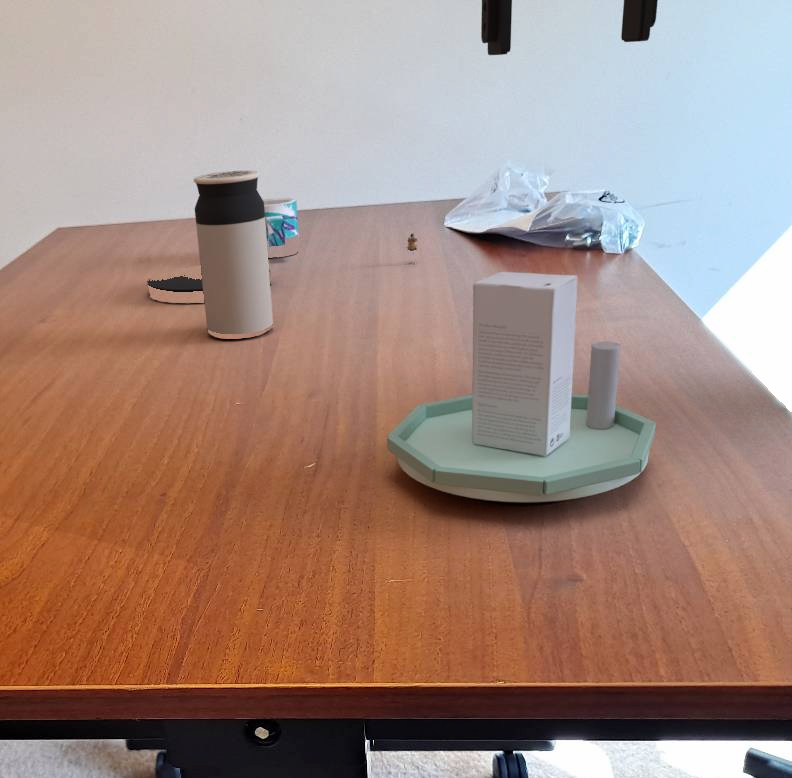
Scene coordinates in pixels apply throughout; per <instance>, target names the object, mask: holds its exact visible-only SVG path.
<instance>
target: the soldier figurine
mask: <svg viewBox="0 0 792 778" xmlns="http://www.w3.org/2000/svg"><path fill="white" fill-rule="evenodd" d="M417 242H418V238H417V237H416V235H415V233H411V234H410V235H409V236H408V238H407V245H405V246H406V249H407V251H408V250H410V251H414V250H417V251H418V244H417Z"/></svg>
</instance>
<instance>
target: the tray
mask: <svg viewBox="0 0 792 778" xmlns="http://www.w3.org/2000/svg"><path fill="white" fill-rule="evenodd" d="M621 347H622V346H621V344H620V343H618V342H615V341H598V342H594V343H593V344H591V350H590V362H589V378H588V390H587V391H588V392H587V394H584V393H572V397H571V415H570V435H569V438H568V440H566V441H565V442H564V443H562V444H561V445H559V446H558V447H557V448H556V449H554V450H553V451H552V452H551V453H549V454H548V455H546V456H541V455H536V454H530V453H524V452H518V451H512V450H507V449H501V448H495V447H489V446H483V445H477V444H473V443H472V393H471V394H467V395H461V396H456V397H451V398H450V397H449V398H445V399H439V400H435V401H430V402H425V403H420V404H419V405H416V406H415V407H414V408H413V409H412V411H411V410H410V412H409V413H408V414H407V415H406V416H405V417H404V418H403V419H402V421H401V422H399V424H397V425H396V426H395V428H394V429H392V430H391V431H390V432H389V434H388V435H386V449H387V451H388V452H389V453H391V454H392V455H394V456H395V457H396V460H397V464H398V466H400V468H401V469H402V471H403V472H404V473H406V474H407V475H408V477H411V478H412V479H414V480H415V481H417V482H419V483H421V484H423V485H425V486H427V487H429V488H432V489H435V490H437V491H440V492H444V493H447V494H451V495H455V496H459V497H465V498H467V497H469V498H468V499H471V498H476V499H483V500H491V501H502V502H548V501H560V500H566V501H569V500H574V499H580V498H585V497H591V496H595V495H598V494H602V493H605V492H608V491H611V490H615V489H618V488H620V487H621V486H624V485H626V484H628V483H629V482H632V481H633V480H634V479H635V478H638V476H639V475H640V474H641V473H642V472H643V471H644V469H645V468H646V466H647V464H648V462H649V455H650V454H649V453H650V449H651V447H652V444H653V441H654V439H655V436H656V428H657V427H656V426H657V424H656V422H655V421H654V420H651V419H649V418H647V417H645V416H642V415H640V414H638V413H636V412H633V411H631V410H629V409H626V408H624V407H622V406H620V405H618V404H617V396H618V395H617V394H618V393H617V392H618V382H619V381H618V380H619V371H620V357H621ZM568 499H569V500H568Z"/></svg>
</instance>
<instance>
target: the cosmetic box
mask: <svg viewBox="0 0 792 778" xmlns="http://www.w3.org/2000/svg"><path fill="white" fill-rule="evenodd" d="M578 281H579V280H578V276H577V275H573V274H572V275H571V274H546V273H535V272H534V273H533V272H532V273H531V272H513V271H498V272H496V273H493V274H491V275H490V276H487V277H484V278H482V279H480V280H478V281H477V280H476V281H475V282H474V283H473V284H472V381H471V382H472V383H471V389H472V390H471V391H472V393H471V394H472V443H473V444H477V445H483V446H489V447H495V448H501V449H507V450H512V451H518V452H524V453H530V454H536V455H541V456H546V455H548V454H549V453H551V452H552V451H553V450H554V449H556V448H557V447H558V446H559V445H561V444H562V443H564V442H565V441H566V440H568V438H569V435H570V415H571V397H572V394H573V376H574V375H573V374H574V373H573V372H574V357H575V337H576V336H575V335H576V318H577V317H576V316H577V299H578V298H577V296H578Z"/></svg>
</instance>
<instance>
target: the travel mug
mask: <svg viewBox="0 0 792 778" xmlns="http://www.w3.org/2000/svg"><path fill="white" fill-rule="evenodd" d="M260 175H261V174H260V172H259V171H258V170H228V171H227V170H226V171H217V172H212V173H205V174H200V175H197V176H195V177H194V178H193V182H194V184H196V188H197V192H198V197H197V201H196V203H195V206H194V217H195V225H196V226H195V227H196V236H197V243H198V244H197V245H198V253H199V265H201V275H202V284H203V294H204V312H205V320H206V329H207V328H208V330H210V331H212V332H216V333H220V334H243V333H251V332H257V331H261V330H264V329H266V328H268V327H270V326H271V325H272V324H273V325H274V317H273V316H274V315H273V302H272V290H271V286H270V276H271V275H270V276H269V269H270V266H269V264H270V262H269V259H268V249H267V236H266V222H265V209H264V201H263V200H262V199H263V197H262V196H261V195H260V193H259V191H258V180H259V177H260Z"/></svg>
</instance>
